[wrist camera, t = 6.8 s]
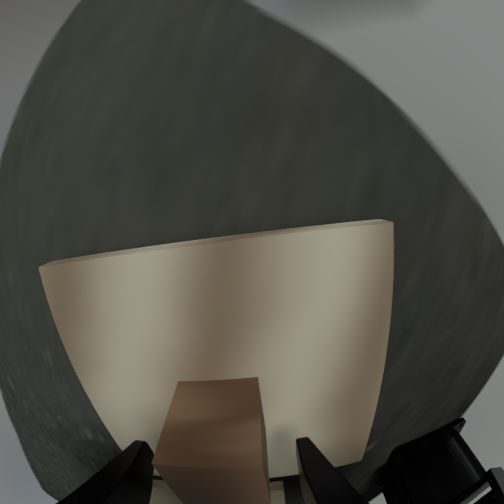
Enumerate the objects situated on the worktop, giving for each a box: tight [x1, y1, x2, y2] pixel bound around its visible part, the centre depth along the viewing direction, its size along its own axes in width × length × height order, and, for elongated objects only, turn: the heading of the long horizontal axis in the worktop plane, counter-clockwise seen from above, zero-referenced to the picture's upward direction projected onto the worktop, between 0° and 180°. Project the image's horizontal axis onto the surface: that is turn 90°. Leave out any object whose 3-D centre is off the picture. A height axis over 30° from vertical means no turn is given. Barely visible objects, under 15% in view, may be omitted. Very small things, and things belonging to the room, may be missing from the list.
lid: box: [39, 219, 394, 504], centre depth 8 cm, size 13×13×6 cm
